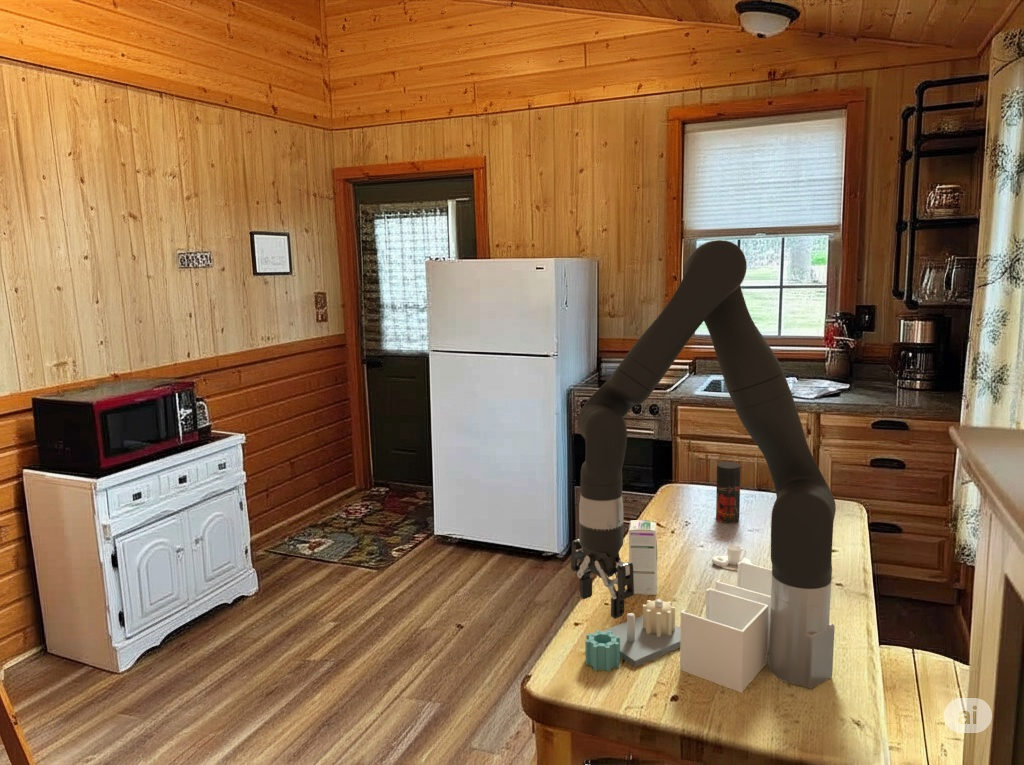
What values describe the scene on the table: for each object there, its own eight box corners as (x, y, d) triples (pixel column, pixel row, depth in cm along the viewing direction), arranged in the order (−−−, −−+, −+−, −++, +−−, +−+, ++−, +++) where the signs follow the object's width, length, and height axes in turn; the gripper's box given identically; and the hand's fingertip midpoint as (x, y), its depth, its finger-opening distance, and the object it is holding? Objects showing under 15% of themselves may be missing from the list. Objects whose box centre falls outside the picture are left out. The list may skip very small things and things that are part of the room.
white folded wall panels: (741, 693, 118) (743, 631, 116) (680, 670, 125) (680, 612, 123) (794, 630, 137) (796, 575, 135) (738, 613, 144) (740, 561, 142)
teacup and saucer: (711, 569, 164) (711, 552, 163) (713, 555, 172) (713, 539, 171) (751, 574, 161) (752, 556, 161) (752, 559, 169) (752, 542, 168)
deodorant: (711, 517, 194) (712, 463, 192) (730, 514, 196) (731, 460, 193) (724, 524, 189) (725, 469, 186) (743, 521, 190) (745, 466, 188)
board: (693, 641, 134) (693, 607, 133) (635, 667, 126) (634, 631, 125) (651, 617, 143) (651, 585, 142) (594, 640, 136) (594, 606, 134)
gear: (626, 664, 127) (626, 640, 127) (600, 675, 124) (600, 651, 124) (604, 649, 132) (604, 626, 132) (579, 659, 129) (578, 636, 128)
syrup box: (657, 595, 152) (657, 530, 149) (628, 594, 153) (628, 529, 150) (657, 583, 157) (657, 520, 155) (629, 581, 159) (629, 519, 156)
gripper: (646, 527, 120) (645, 617, 123) (592, 502, 132) (592, 585, 135) (611, 537, 116) (610, 630, 119) (559, 511, 128) (559, 596, 131)
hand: (601, 606), depth 127 cm, fingers open, 8 cm apart
